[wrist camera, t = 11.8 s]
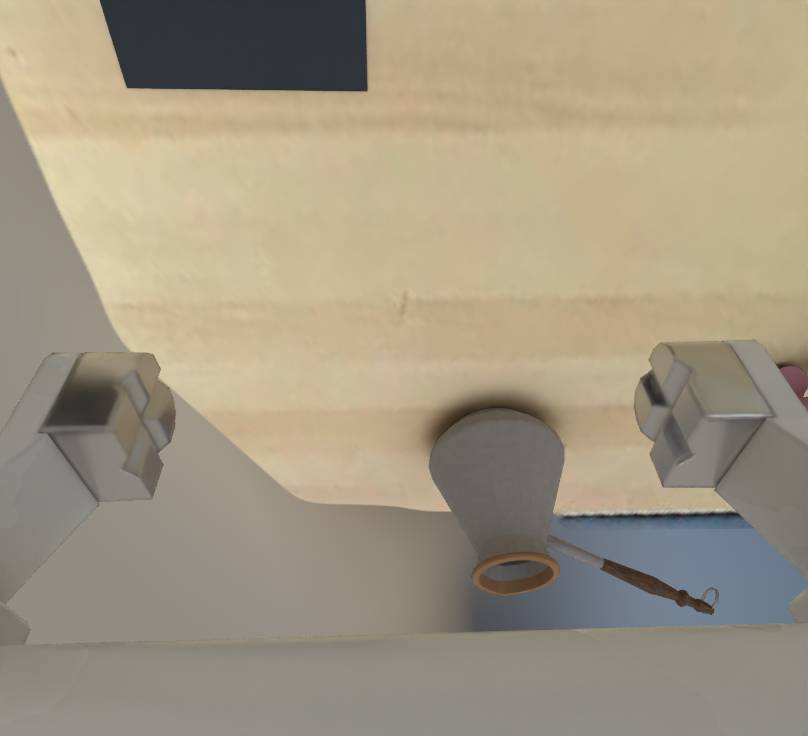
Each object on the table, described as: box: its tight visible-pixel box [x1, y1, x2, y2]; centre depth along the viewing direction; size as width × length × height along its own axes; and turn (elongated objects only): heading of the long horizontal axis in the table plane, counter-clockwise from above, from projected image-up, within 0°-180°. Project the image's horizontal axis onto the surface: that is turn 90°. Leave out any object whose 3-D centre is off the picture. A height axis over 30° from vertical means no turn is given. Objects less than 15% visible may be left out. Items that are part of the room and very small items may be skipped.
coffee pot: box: [429, 408, 719, 615], centre depth 46 cm, size 21×12×15 cm, turn 80°
